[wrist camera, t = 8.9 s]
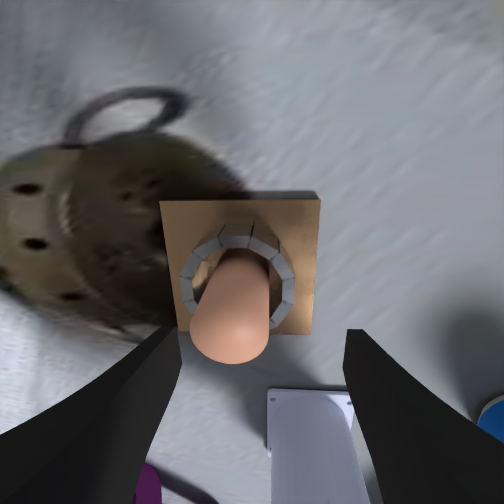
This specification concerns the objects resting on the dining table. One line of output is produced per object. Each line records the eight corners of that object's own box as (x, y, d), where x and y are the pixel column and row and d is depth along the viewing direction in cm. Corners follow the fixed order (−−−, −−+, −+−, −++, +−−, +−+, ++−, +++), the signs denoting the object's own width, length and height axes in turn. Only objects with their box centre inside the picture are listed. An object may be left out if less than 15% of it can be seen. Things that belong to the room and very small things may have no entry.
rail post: (268, 296, 20) (267, 365, 14) (217, 294, 20) (192, 361, 14) (270, 248, 19) (269, 300, 12) (215, 246, 19) (186, 297, 13)
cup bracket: (309, 330, 22) (315, 357, 19) (181, 326, 23) (167, 352, 20) (319, 198, 18) (328, 207, 15) (162, 199, 19) (142, 208, 16)
